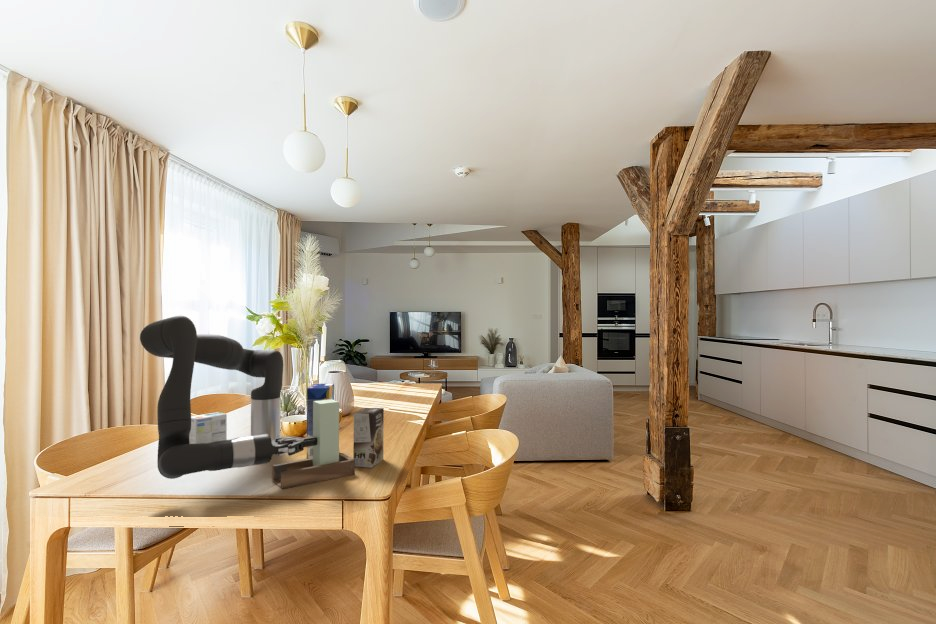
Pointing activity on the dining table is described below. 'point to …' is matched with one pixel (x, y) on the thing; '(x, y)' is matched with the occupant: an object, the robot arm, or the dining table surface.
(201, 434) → the light bulb box
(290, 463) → the chute
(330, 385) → the beverage box
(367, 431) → the coffee box
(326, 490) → the dining table surface
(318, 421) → the block
